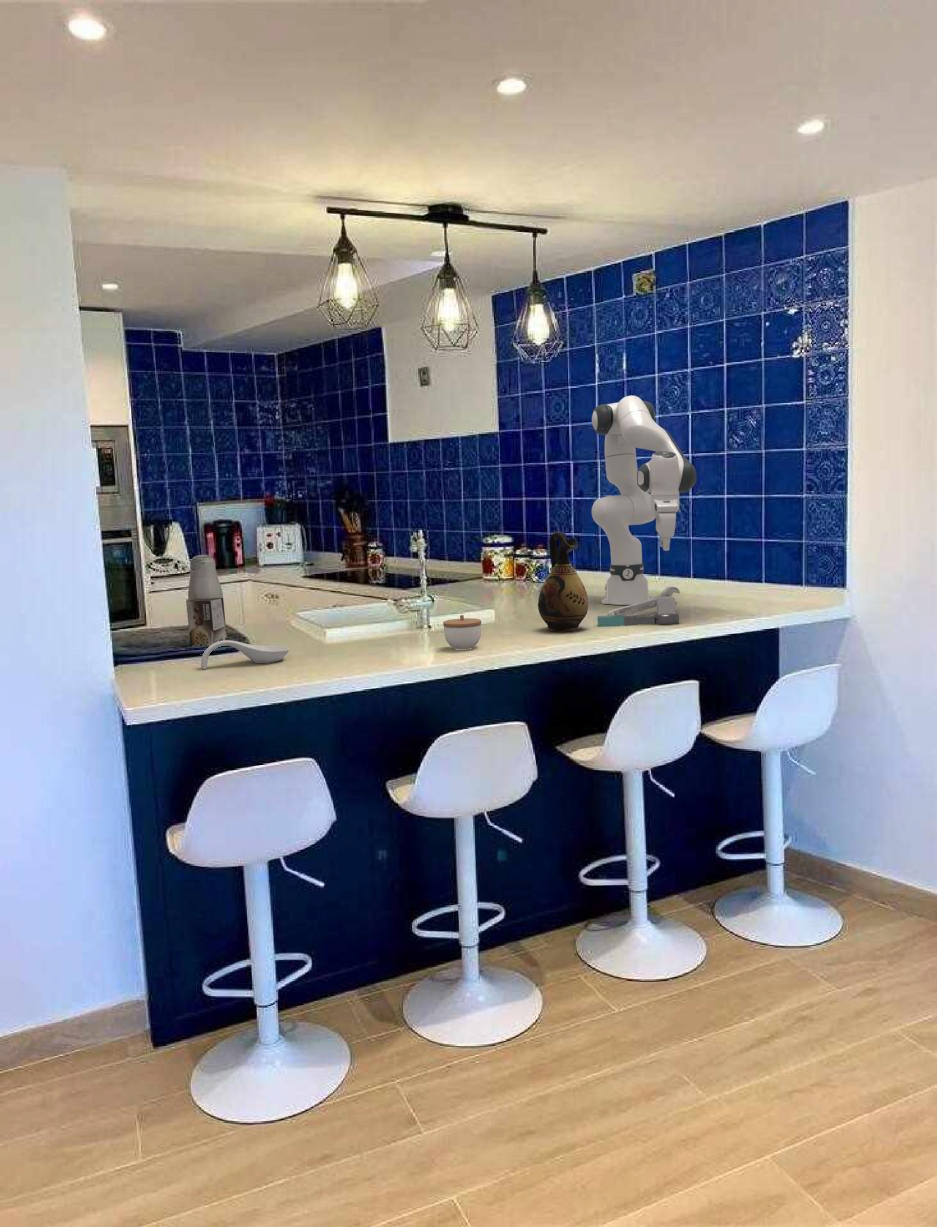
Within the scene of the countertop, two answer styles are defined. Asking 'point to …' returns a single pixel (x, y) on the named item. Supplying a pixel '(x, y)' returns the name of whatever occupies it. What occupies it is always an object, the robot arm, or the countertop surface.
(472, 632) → the lidded jar
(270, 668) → the countertop surface
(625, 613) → the wrench
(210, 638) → the coffee box
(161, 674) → the countertop surface
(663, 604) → the socket
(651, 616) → the ratchet
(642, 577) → the robot arm
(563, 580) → the ceramic jug
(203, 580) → the grey tapered cylinder
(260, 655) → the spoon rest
